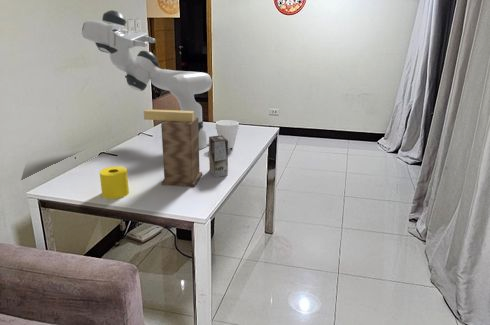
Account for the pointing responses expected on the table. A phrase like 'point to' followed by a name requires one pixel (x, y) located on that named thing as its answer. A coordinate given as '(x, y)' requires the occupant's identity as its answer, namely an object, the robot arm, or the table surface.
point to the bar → (169, 115)
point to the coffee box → (218, 155)
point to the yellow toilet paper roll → (114, 182)
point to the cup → (228, 130)
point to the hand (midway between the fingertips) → (150, 42)
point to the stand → (180, 153)
